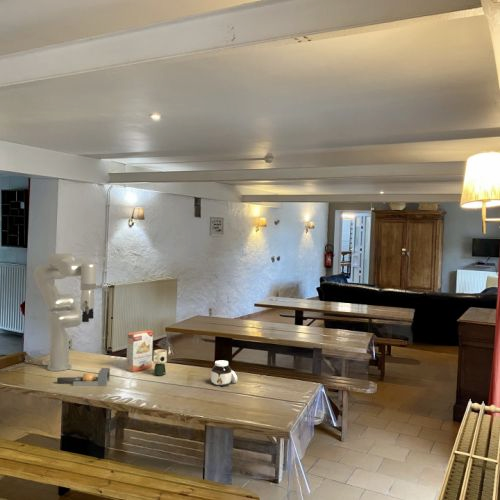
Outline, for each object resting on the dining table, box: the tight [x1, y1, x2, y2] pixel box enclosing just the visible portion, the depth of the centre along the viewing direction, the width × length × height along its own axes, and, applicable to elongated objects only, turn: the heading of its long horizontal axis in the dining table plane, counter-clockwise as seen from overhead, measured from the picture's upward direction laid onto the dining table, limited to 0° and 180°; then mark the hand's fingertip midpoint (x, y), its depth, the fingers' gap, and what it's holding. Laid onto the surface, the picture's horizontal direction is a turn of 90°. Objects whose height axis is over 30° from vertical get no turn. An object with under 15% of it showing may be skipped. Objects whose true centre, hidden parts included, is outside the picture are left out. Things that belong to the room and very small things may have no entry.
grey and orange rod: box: [56, 373, 98, 384], centre depth 245 cm, size 19×4×4 cm, turn 96°
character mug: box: [152, 349, 168, 376], centre depth 262 cm, size 11×7×13 cm, turn 152°
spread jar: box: [210, 359, 239, 387], centre depth 249 cm, size 12×11×12 cm
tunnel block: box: [72, 367, 111, 387], centre depth 246 cm, size 16×10×6 cm, turn 96°
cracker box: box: [125, 329, 154, 373], centre depth 272 cm, size 14×6×21 cm, turn 143°
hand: (87, 320), depth 250 cm, fingers open, 9 cm apart
